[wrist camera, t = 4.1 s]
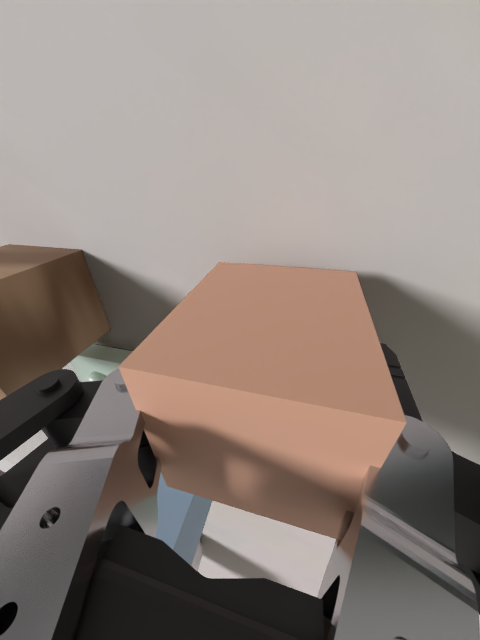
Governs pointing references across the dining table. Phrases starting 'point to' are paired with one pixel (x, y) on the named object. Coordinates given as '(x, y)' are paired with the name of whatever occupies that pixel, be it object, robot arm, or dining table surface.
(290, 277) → the block
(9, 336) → the block
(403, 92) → the dining table surface
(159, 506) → the block
